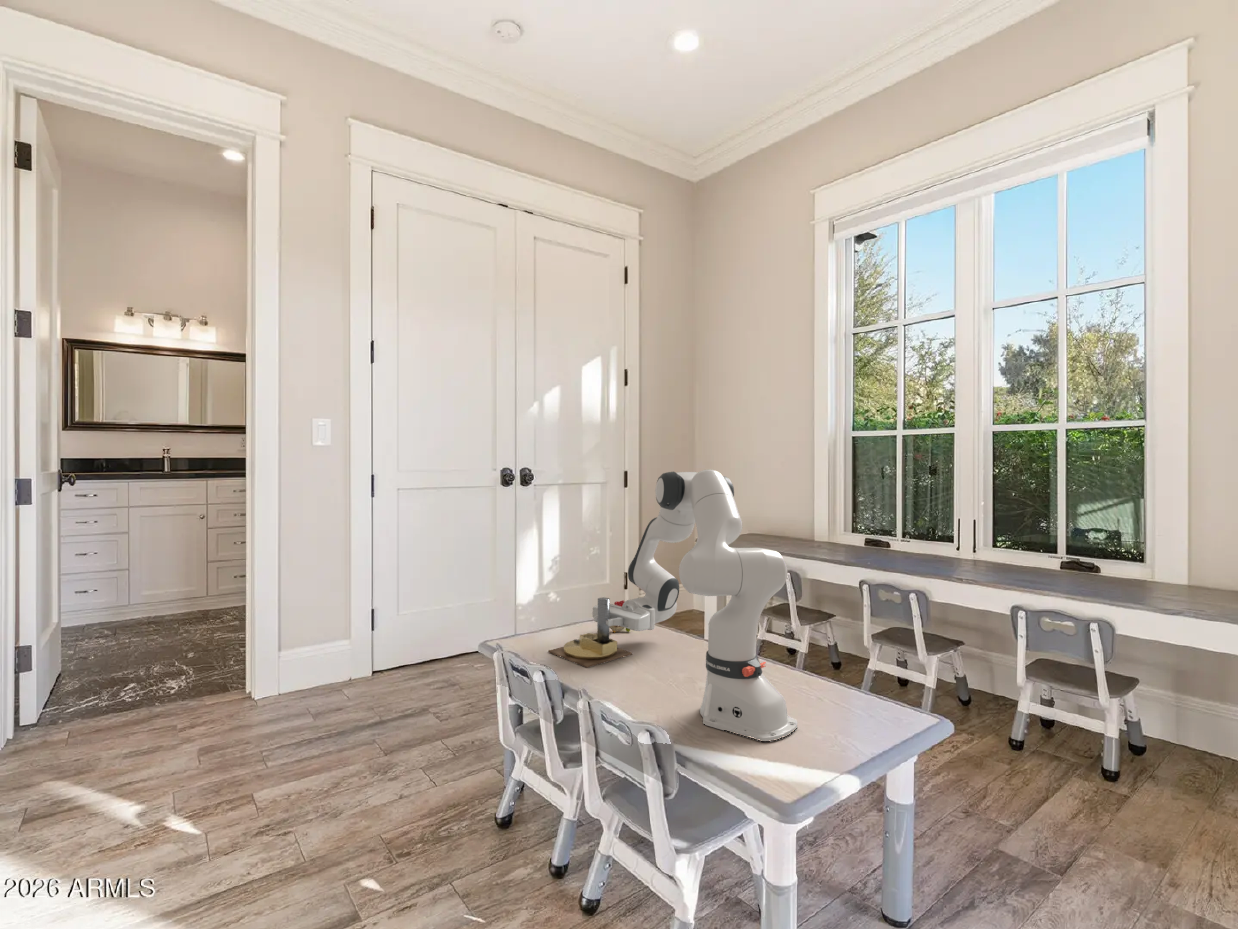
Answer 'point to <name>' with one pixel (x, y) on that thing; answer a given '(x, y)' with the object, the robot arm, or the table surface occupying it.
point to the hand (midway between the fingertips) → (601, 621)
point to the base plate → (590, 663)
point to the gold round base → (590, 648)
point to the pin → (603, 620)
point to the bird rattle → (618, 628)
